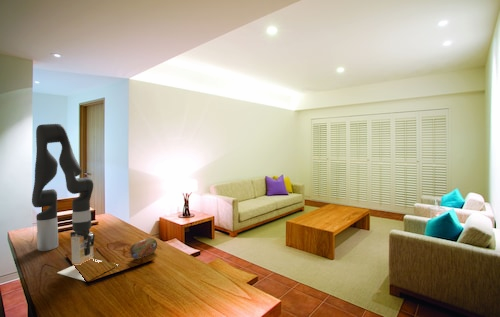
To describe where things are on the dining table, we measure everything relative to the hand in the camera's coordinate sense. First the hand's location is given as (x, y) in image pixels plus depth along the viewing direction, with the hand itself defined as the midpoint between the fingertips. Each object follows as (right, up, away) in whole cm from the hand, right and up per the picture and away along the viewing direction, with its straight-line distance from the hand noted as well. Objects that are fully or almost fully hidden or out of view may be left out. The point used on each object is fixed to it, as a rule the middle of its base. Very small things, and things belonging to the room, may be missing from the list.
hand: (83, 253), depth 124 cm
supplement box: (0, -4, 0) cm, 4 cm away
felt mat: (+4, -6, -2) cm, 8 cm away
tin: (+24, -6, +13) cm, 28 cm away
